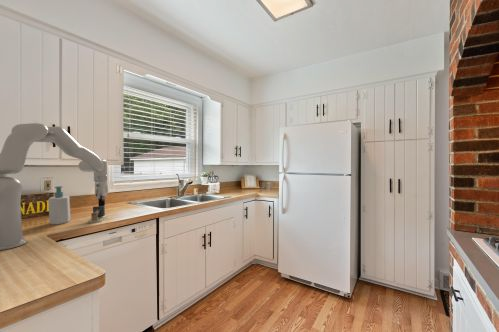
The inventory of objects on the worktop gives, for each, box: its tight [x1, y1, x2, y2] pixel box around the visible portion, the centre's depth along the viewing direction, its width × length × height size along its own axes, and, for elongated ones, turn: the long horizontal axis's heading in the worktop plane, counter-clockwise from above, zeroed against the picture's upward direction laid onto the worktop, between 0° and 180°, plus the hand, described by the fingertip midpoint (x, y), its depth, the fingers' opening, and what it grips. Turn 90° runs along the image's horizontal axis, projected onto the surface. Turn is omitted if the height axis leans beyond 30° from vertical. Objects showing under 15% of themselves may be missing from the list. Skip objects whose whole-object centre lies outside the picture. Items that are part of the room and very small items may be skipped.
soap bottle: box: [47, 185, 71, 225], centre depth 145 cm, size 10×9×22 cm
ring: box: [92, 205, 106, 216], centre depth 153 cm, size 6×2×6 cm, turn 103°
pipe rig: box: [87, 210, 107, 224], centre depth 150 cm, size 7×10×6 cm
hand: (101, 206), depth 158 cm, fingers closed
